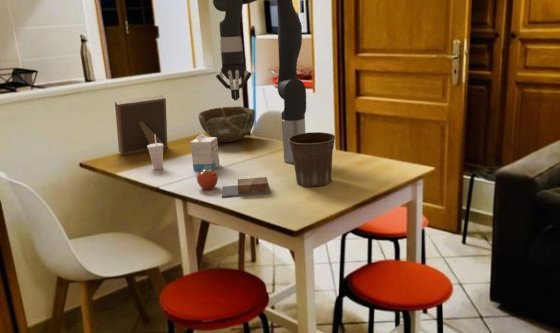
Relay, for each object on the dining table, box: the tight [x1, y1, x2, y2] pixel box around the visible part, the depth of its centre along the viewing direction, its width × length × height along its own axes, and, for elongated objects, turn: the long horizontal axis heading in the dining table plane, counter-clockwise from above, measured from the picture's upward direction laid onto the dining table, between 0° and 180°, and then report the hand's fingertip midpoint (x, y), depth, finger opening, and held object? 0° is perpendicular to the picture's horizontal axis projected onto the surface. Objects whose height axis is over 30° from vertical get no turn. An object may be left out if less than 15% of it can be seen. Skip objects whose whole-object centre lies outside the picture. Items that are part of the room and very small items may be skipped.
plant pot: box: [288, 131, 337, 188], centre depth 181 cm, size 16×16×16 cm
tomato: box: [196, 167, 219, 191], centre depth 182 cm, size 7×7×8 cm
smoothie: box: [147, 134, 164, 170], centre depth 210 cm, size 6×6×14 cm
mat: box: [221, 184, 271, 199], centre depth 178 cm, size 16×10×1 cm, turn 95°
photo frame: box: [114, 94, 168, 156], centre depth 236 cm, size 15×22×25 cm
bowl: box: [197, 105, 256, 143], centre depth 249 cm, size 28×27×15 cm
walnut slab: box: [237, 176, 269, 194], centre depth 176 cm, size 3×7×10 cm
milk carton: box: [189, 133, 220, 171], centre depth 207 cm, size 9×8×13 cm
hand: (235, 100), depth 184 cm, fingers closed
